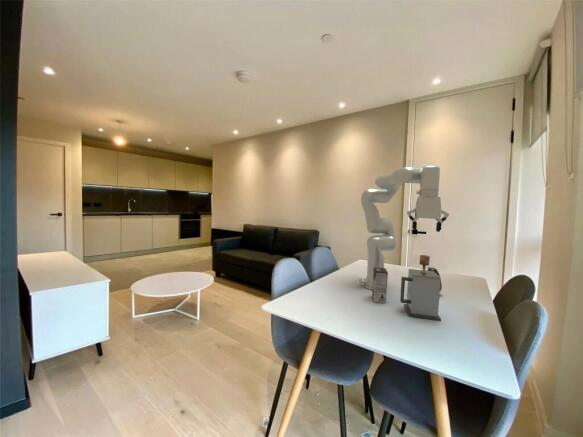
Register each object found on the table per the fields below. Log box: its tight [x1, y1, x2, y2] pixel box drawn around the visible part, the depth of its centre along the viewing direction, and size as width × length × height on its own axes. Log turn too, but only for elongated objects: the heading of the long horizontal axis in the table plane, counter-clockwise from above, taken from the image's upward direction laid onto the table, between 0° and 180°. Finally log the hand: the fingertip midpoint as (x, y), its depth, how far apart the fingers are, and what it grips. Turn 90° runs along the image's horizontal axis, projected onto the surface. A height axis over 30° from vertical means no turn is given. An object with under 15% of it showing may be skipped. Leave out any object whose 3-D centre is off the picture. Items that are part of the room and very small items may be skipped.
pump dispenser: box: [426, 266, 443, 293], centre depth 145 cm, size 10×10×15 cm
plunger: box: [419, 254, 431, 274], centre depth 117 cm, size 9×9×20 cm
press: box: [399, 268, 442, 322], centre depth 118 cm, size 16×13×19 cm
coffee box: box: [371, 267, 389, 304], centre depth 133 cm, size 9×6×16 cm
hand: (426, 230), depth 116 cm, fingers open, 9 cm apart
